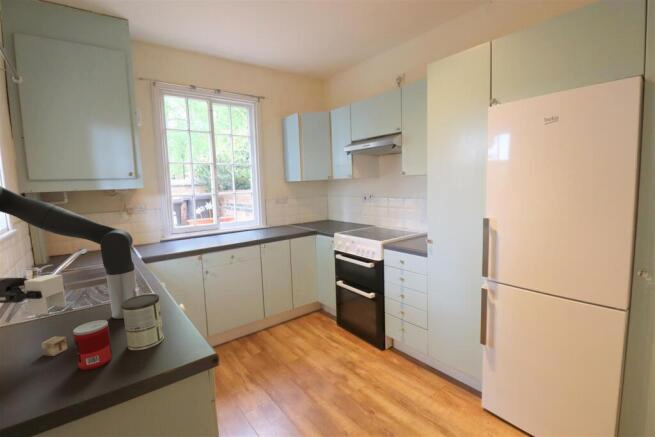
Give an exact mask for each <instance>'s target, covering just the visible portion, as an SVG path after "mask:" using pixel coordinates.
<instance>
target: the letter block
mask: <svg viewBox="0 0 655 437" xmlns="http://www.w3.org/2000/svg"><path fill="white" fill-rule="evenodd" d="M41 349H42V354H43V356H51V357H52V356H53V357H54V356H57V355H59V354H60V353H62V352H65V351H66V350H67V349H68V344H67V337H66V336H53V337H51V338H48V339H47V340H45V341H42V342H41Z"/></svg>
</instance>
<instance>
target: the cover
mask: <svg viewBox="0 0 655 437" xmlns="http://www.w3.org/2000/svg"><path fill="white" fill-rule="evenodd" d="M63 279H64V278H63V275H62V274H44V275H41V276H37V277H34V278H31V279H28V280H26V281H24V283H25V288H26V290H29V291H41V293H42V298H40V299H29V300H27V304H28V310H29V314H30V315H32V314H33V315H49V309H48V308H50V307H64V308H65V307H67V306H68V305H67V298H66V292H65V290H64V286H65V284H64V280H63ZM63 284H64V285H63Z"/></svg>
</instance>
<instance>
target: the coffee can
mask: <svg viewBox="0 0 655 437" xmlns="http://www.w3.org/2000/svg"><path fill="white" fill-rule="evenodd" d="M160 305H161V304H160V295H158V294H155V293H148V294H147V293H146V294H139V296H136V297H132V298H130V299H127V300H125V301H124V302H122V304H121V306H122V310H123V317H124V318H123V323H124V330H125V337H126V343H127V349H128V350H130V351H141V350H147V349H150V348H152V347H155V346H157V345H159V344H160V343H161V342H163V340H164V338H165V336H164V329H163V321H162V313H161V306H160Z"/></svg>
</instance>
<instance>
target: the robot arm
mask: <svg viewBox="0 0 655 437" xmlns="http://www.w3.org/2000/svg"><path fill="white" fill-rule="evenodd" d="M0 213H4V214H7V215H10V216H13V217H15V218H16V219H19V220H21V221H23V222H24V223H26V224H29V225H31V226H33V227H35V228H38V229H41V230H42V231H43V230H44V231H46V232H49V233H52V234H56V235H59V236H63V237H69V238H74V239H75V238H76V239H82V240H87V241H90V242H93V243H96V244H97V245H100V253H101V259H102V265H103V268H104V269H105V273H106V280H107V281H106V282H107V288H108V295H109V296H108V297H109V302H110V309H111V317H112V318H113V319H118V320H119V319H124V317H123V310H122V306H121V304H122V302H124V301H125V300H127V299H130V298H132V297H136V296H140V293H139V292H140V291H139V286H138V285H137V277H136V270H135V269H136V268H135V263H134V261H133V259H132V254H131V253H132V252H131V247H132V245H133V244H134V241H133V236H132V234H130V233H129V232H128V231H127V230H124V229H121V228H117V227H114V226H109V225H106V224H104V223H103V224H102V223H99V222H97V221H94V220H92V219H90V218H87V217H86V216H84V215H81V214H77V213H75V212H73V211H71V210H68V209H67V208H66V209H65V208H63V207H60V206H57V205H55V204H53V203H49V202H45V201H41V200H38V199H34V198H29V197H26V196H23V195H21V194H18V193H16V192H14V191H11V190H9V189H7V188H5V187H3V186H1V185H0ZM26 280H29V279H28V278H25V277H0V304H5V303H7V304H8V303H9V304H12V303H13V304H15V303H18V304H19V303H21V302H24V301H28V300H29V299H40V298H42V293H41V291H29V290H26V288H25V283H24V281H26ZM63 285H64V291H65V290H66V287H65V283H63Z"/></svg>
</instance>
